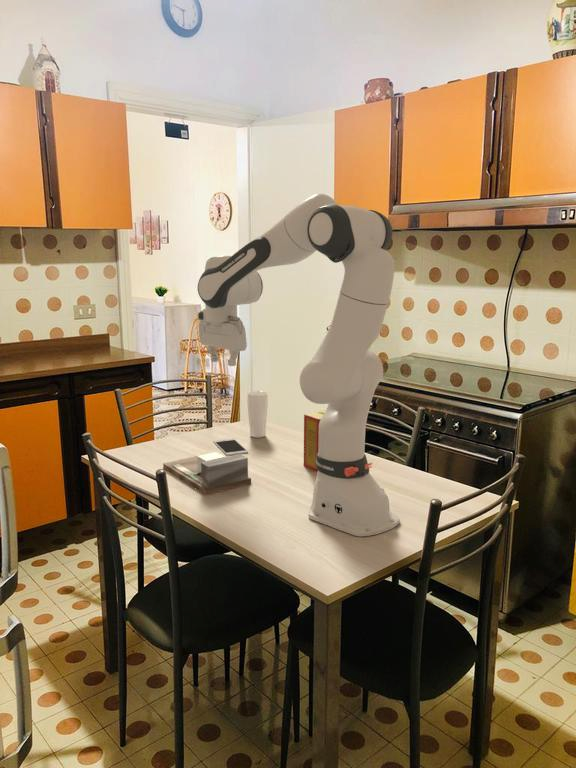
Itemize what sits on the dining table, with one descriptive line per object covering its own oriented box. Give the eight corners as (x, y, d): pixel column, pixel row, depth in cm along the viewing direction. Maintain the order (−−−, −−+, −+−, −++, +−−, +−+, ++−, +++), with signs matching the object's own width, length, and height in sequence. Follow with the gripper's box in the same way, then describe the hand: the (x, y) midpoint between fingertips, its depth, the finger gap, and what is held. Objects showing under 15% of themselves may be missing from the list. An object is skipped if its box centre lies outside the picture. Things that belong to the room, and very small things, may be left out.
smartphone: (233, 440, 211) (233, 437, 211) (248, 454, 197) (248, 451, 197) (212, 443, 208) (212, 440, 208) (226, 457, 194) (226, 454, 194)
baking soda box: (317, 472, 180) (318, 418, 177) (303, 465, 185) (304, 413, 182) (342, 465, 186) (343, 413, 182) (328, 459, 191) (329, 408, 187)
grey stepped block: (251, 483, 171) (250, 457, 170) (205, 495, 163) (205, 467, 162) (205, 458, 191) (205, 435, 189) (163, 468, 183) (162, 443, 181)
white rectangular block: (225, 473, 174) (225, 456, 173) (198, 480, 169) (198, 462, 168) (216, 468, 178) (216, 452, 177) (189, 475, 173) (189, 457, 172)
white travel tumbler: (259, 431, 219) (259, 389, 216) (271, 436, 214) (271, 393, 211) (243, 435, 215) (243, 392, 212) (256, 440, 210) (255, 396, 207)
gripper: (251, 316, 170) (252, 367, 173) (213, 312, 186) (214, 358, 189) (231, 318, 167) (233, 369, 169) (194, 313, 183) (196, 360, 185)
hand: (223, 363), depth 179 cm, fingers open, 8 cm apart
